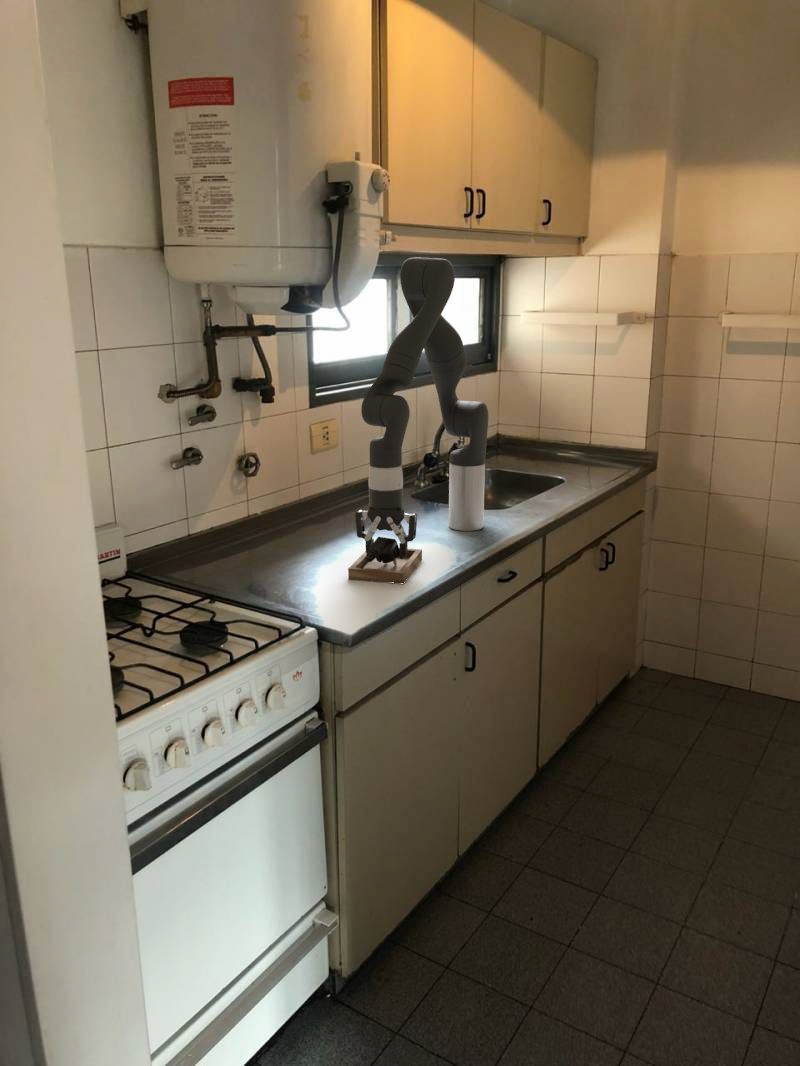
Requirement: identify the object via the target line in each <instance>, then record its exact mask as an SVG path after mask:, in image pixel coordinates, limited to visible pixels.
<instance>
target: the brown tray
mask: <svg viewBox="0 0 800 1066" xmlns="http://www.w3.org/2000/svg"><path fill="white" fill-rule="evenodd" d="M366 555H367V554H366V550H365V551H364V552H363V553H362V554H361V555H360V557H358V558H357V560H355V561H354V562H353V563H352V564H351V565H350V566H349V567H348V568H347V572H348V578H347V579H348V580H351V581H362V582H372V581H373V582H374V583H383V582H394V583H393V584H395V583H404V582H405V583H406V582H407V580H408V579H409V578H410V576H411V575H412V573H414V571H415V570H416V569H417V567H418V566H419V564H420V563H421V562H422V561H423V549H420V548H419V549H418V548H409V547H407V555H406V556H405V557H404V558H403V559H400V554H399V557H398V558H396V562H397V565H394V563H393V561H392V562H389V563H387V564H386V563H383V562H382V561H381V562H378V561H377V560H376V558H375V559H374V560H373V561H372V562H368V563H367V564H366V565H365V566H364V568H363V569H361V568H360V566H361V565H362V564H363V563H364V562H365V556H366ZM407 578H408V579H407ZM406 579H407V580H406ZM405 583H404V584H405Z"/></svg>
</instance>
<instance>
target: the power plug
mask: <svg viewBox="0 0 800 1066" xmlns="http://www.w3.org/2000/svg"><path fill="white" fill-rule="evenodd" d="M371 546H372V547H371V548H370V549H369V551H368V553H367V555H366V556H365V562H364V563H363V564H362V565H361V566H360V568H361V569H363V568H364V566H365V565H366V564H367V563H368V562H372V561H373V560H374V559H375V558H376V560H377V561H378V562H381V561H382V562H383V563H386V564H387V563H389V562H392V561H393V563H394V565H397V562H396V558H398V557H399V544H398V541H397V540H396V539H395V538H391V537H384V536H377V538H376V539H374V543H373V544H372V545H371Z"/></svg>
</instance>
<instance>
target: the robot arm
mask: <svg viewBox="0 0 800 1066" xmlns="http://www.w3.org/2000/svg"><path fill="white" fill-rule="evenodd" d="M455 275H456V273H455V268H454V266H453V264H452V263H451V261H449V260H448V259H446V258H445V259H444V258H437V257H432V258H431V257H421V256H419V257H418V256H417V257H410V258H409V257H408V258H407V259H406V260H404V261H403V263H402V265H401V267H400V272H399V282H400V287H401V291H402V294H403V297H404V299H405V302H406V305H407V306H408V309H409V312H410V314H411V316H412V318H413V319H412V320H411V321H410V322H409V323H408V324H407V325H406V326H405V327H404V328H403V329H402V330H401V331H400V332H399V333H398V334H397V335H396V336H395V338H394V339H393V340H392V343H391V344H390V346H389V348H388V350H387V354H386V357H385V360H384V362H383V366H382V369H381V371H380V373H379V374H378V376H377V377H376V378H375V380H374V381H373V383H372V384H371V386H370V387H369V389H368V391H367V392H366V394H365V396H363V400H362V402H361V403H362V404H361V410H360V412H361V417H362V420H363V421H364V423H366V424H367V425H369V426H372V427H381V428H385V431H384V434H383V436H379V437H375V438H373V439H371V441H370V442H369V470H368V481H367V482H368V510H363V509H358V510H357V511H356V512H355V515H354V516H355V527H356V537H357V538H359V539H364V541H365V551H366V554H367V553H368V551H369V549H370V548H371V547H372V546H371V545H372V544H373V543H374V541H375V539H374V538H373V537H374V535H375V533H376V531H383V530H384V531H385V530H386V531H389V532H392V531H393V533H394V535H395V536H396V538H398V541H399V542H400V543H399V544H398V547H399V554H400V559H403V558H404V557H405V556H406V555H407V548H408V543H409V542H413V541H414V540H415V538H416V537H417V526H418V525H417V523H418V514H417V513H416V512H412V513H408V512H407V513H406V512H405V511H404V476H403V475H404V474H403V468H402V467H403V466H402V465H403V462H402V461H403V460H402V459H403V457H402V456H403V455H402V449H403V448H402V447H403V444H404V440H405V439H404V438H405V435H406V431H407V427H408V424H409V420H410V412H411V411H410V406H409V403H408V401H407V399H406V398H404V396H402V395H399V394H395V393H396V392H398V391H403V390H406V389H409V387H410V386H411V385H412V383H413V380H414V377H415V374H416V372H417V368H418V366H419V365H418V364H419V363H420V359H421V356H422V354H423V351H424V354H425V358H426V360H427V364H428V367H429V369H430V372H431V375H432V378H433V381H434V387H435V389H436V392H437V397H438V401H439V402H438V403H439V407H440V413H441V418H442V422H443V423H442V424H443V425H444V429H445V431H446V433H447V434H448V435H450V436H453V437H459V438H460V437H461V438H469V442H468V445H466V446H464V447H462V448H457V449H454V450H452V451H451V452H450V453H449V469H448V470H449V471H448V472H449V473H448V474H449V477H448V478H449V479H448V480H449V481H448V491H449V493H448V528H450V529H452V530H456V531H462V532H463V531H464V532H465V531H466V532H469V531H471V532H472V531H478V530H481V529H483V528H484V516H485V515H484V514H485V476H486V475H485V474H486V473H485V471H486V453H487V446H488V445H487V441H488V429H489V409H488V406H487V405H486V403H484V402H482V401H472V400H460V399H459V398H458V396H457V393H456V391H457V387H458V384H459V383H460V381H461V379H462V378H463V375H464V373H465V372H466V369H467V363H468V361H467V360H468V359H467V355H466V350H465V347H464V344H463V340H462V337H461V335H460V334H459V333H458V331H457V330H456V329H455V327H454V326H453V325H452V324H451V323H450V322H449V321H448V320H447V319H446V318H445V317H444V316H443V315H442V313H443V311H444V309H445V307H446V305H447V304H448V302H449V299H450V297H451V295H452V292H453V289H454V286H455V278H456V276H455ZM367 517H368V519H369V520H370V521H371V523H372V524H371V525H370V527H369V529H368V531H366V525H365V520H366V519H367ZM404 519H405V521H406V523H407V524H408V533H406V531H405V527H404V526H403V525H402V521H403V520H404Z"/></svg>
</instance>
